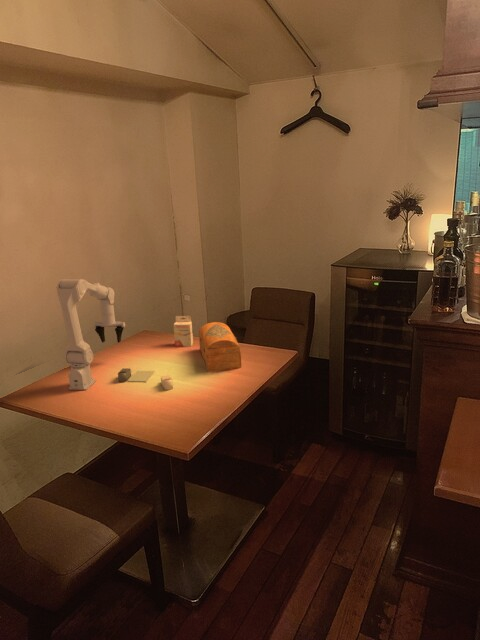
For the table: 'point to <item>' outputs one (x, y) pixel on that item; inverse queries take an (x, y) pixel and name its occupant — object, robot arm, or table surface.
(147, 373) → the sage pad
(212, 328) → the wooden box
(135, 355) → the table surface
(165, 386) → the ivory plug
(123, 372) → the tan-capped grey bottle
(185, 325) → the ink cartridge box
